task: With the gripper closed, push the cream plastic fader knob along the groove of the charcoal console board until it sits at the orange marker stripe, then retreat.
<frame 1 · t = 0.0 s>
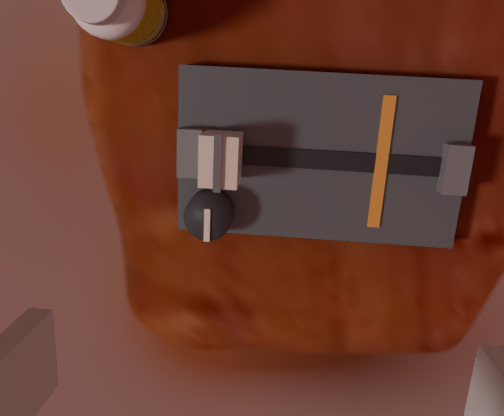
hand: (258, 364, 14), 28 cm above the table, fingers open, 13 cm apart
fader knob: (221, 159, 36), point 5 cm above the table, slide at 0.0 cm
console: (318, 155, 40), on the table
supplement bottle: (137, 12, 38), on the table
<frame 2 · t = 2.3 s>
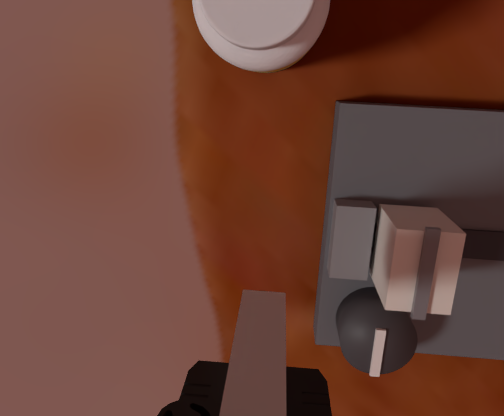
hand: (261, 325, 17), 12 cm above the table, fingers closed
fader knob: (413, 257, 23), point 5 cm above the table, slide at 0.0 cm
supplement bottle: (267, 19, 25), on the table
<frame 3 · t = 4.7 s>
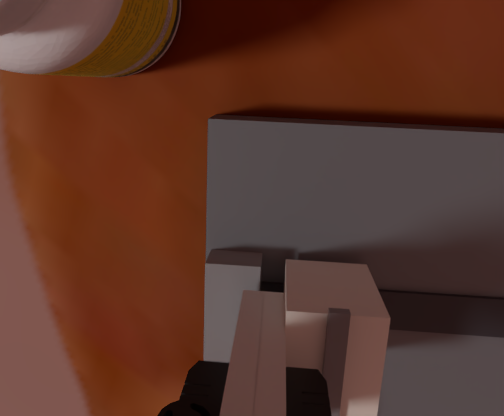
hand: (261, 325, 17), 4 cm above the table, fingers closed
fader knob: (326, 340, 16), point 5 cm above the table, slide at 0.6 cm, touching gripper
console: (490, 293, 20), on the table
supplement bottle: (116, 3, 18), on the table
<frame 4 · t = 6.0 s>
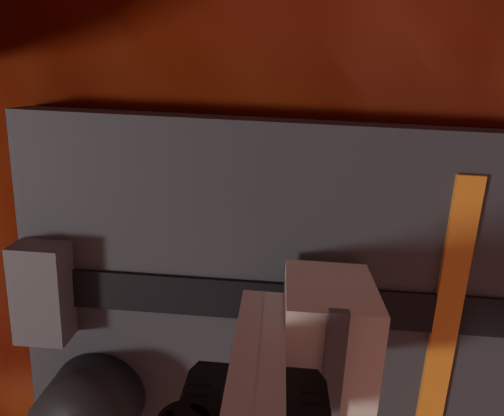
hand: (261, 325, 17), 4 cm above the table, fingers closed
fader knob: (326, 340, 16), point 5 cm above the table, slide at 8.1 cm, touching gripper
console: (313, 282, 20), on the table
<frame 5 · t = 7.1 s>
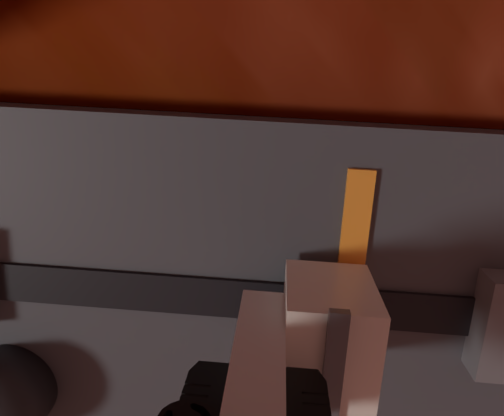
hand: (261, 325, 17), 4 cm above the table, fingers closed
fader knob: (326, 340, 16), point 5 cm above the table, slide at 12.0 cm, touching gripper
console: (225, 275, 20), on the table
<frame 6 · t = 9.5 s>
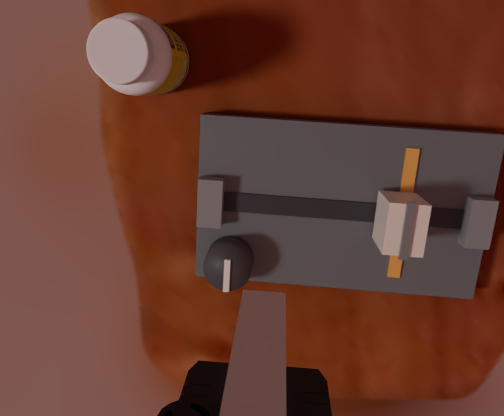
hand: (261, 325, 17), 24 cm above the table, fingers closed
fader knob: (400, 223, 35), point 5 cm above the table, slide at 12.2 cm
console: (338, 203, 40), on the table
supplement bottle: (158, 60, 38), on the table
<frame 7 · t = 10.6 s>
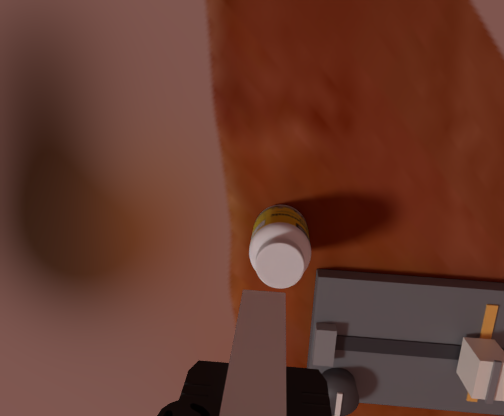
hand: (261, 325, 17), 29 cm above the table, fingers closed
fader knob: (484, 369, 44), point 5 cm above the table, slide at 12.2 cm
console: (425, 338, 49), on the table
supplement bottle: (280, 228, 47), on the table
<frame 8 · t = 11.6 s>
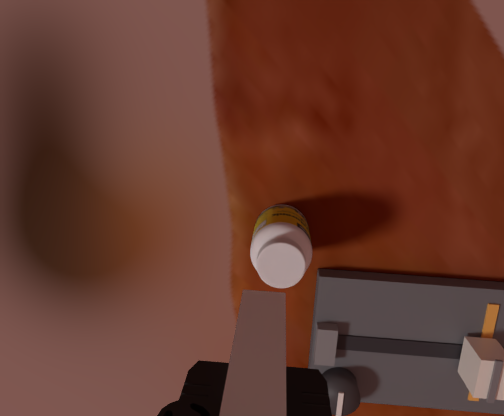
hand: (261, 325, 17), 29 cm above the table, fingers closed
fader knob: (485, 368, 44), point 5 cm above the table, slide at 12.2 cm
console: (426, 338, 49), on the table
supplement bottle: (281, 228, 47), on the table
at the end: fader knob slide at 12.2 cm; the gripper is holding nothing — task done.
